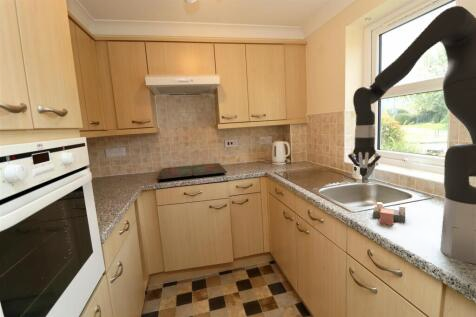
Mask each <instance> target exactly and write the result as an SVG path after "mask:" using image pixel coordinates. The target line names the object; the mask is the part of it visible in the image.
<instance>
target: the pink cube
mask: <svg viewBox="0 0 476 317" xmlns="http://www.w3.org/2000/svg"><path fill="white" fill-rule="evenodd" d="M388 209H389V208H387V209H381V211H380V218H379V223H380V224H387V225H391V226H392V225H393V226H394V220H393V219H394V210H395V209H394V210H388Z"/></svg>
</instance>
